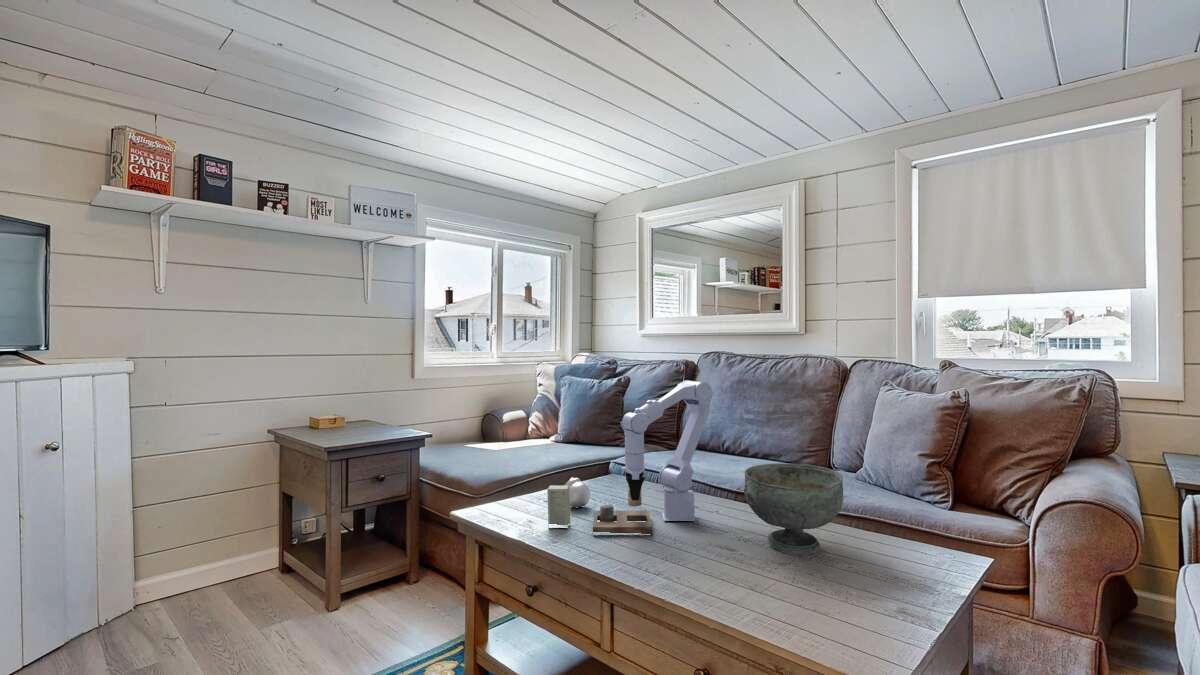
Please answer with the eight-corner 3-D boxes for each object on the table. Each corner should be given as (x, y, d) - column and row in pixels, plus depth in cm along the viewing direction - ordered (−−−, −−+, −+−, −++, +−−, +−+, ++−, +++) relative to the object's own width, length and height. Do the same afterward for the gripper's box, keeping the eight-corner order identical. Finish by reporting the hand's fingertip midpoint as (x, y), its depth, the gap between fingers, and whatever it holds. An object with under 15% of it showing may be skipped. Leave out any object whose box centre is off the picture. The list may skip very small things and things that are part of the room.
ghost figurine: (578, 502, 199) (578, 473, 199) (595, 508, 192) (595, 478, 192) (557, 507, 193) (557, 477, 193) (574, 513, 186) (574, 482, 186)
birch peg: (641, 502, 174) (641, 482, 174) (641, 506, 170) (641, 486, 170) (628, 502, 174) (627, 482, 174) (628, 506, 170) (628, 486, 170)
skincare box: (570, 524, 174) (570, 485, 174) (568, 529, 170) (567, 488, 170) (550, 524, 175) (549, 484, 175) (547, 529, 171) (547, 488, 171)
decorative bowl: (856, 569, 138) (854, 486, 139) (747, 562, 144) (746, 482, 144) (834, 533, 164) (833, 463, 165) (742, 528, 170) (741, 460, 170)
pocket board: (648, 518, 180) (648, 499, 180) (652, 535, 164) (651, 514, 164) (594, 518, 180) (594, 499, 180) (592, 535, 164) (592, 515, 164)
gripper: (620, 448, 179) (621, 491, 179) (621, 457, 165) (622, 504, 165) (643, 448, 179) (643, 491, 179) (646, 457, 165) (646, 504, 165)
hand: (634, 498), depth 172 cm, fingers closed on birch peg, 4 cm apart
